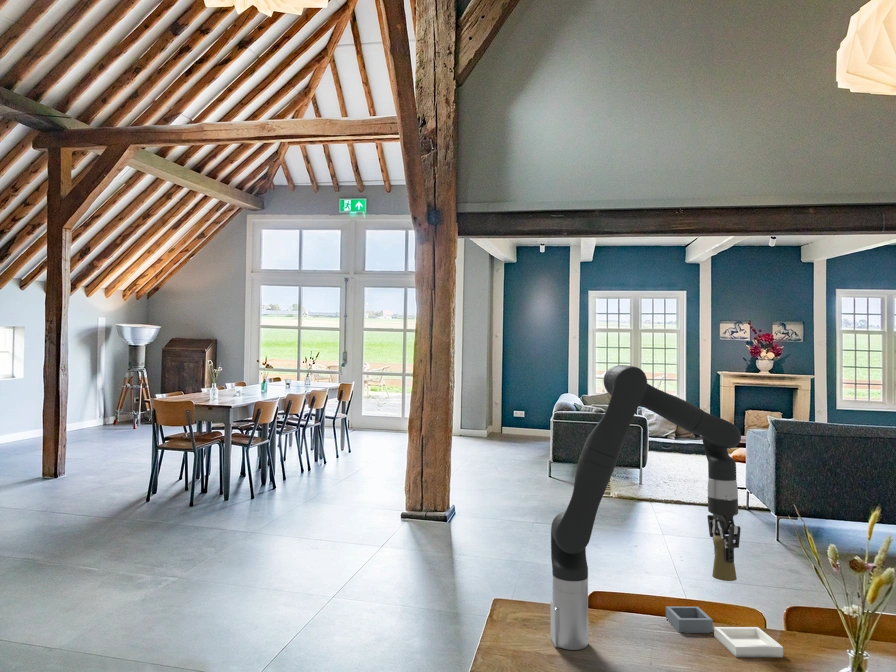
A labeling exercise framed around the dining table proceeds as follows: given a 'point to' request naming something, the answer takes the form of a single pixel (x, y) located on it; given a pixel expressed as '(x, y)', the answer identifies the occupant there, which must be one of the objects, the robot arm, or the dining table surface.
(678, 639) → the dining table surface
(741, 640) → the tray
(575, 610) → the robot arm
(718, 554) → the cork
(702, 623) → the box
